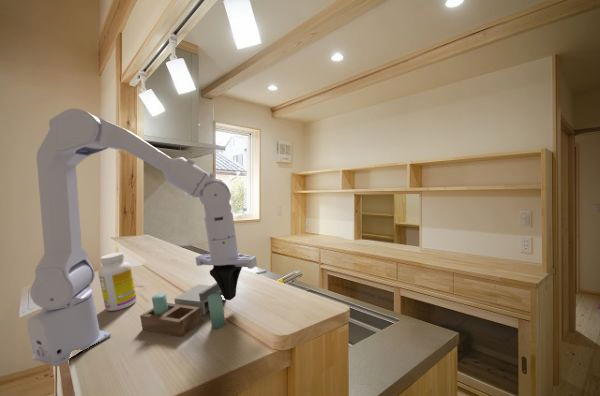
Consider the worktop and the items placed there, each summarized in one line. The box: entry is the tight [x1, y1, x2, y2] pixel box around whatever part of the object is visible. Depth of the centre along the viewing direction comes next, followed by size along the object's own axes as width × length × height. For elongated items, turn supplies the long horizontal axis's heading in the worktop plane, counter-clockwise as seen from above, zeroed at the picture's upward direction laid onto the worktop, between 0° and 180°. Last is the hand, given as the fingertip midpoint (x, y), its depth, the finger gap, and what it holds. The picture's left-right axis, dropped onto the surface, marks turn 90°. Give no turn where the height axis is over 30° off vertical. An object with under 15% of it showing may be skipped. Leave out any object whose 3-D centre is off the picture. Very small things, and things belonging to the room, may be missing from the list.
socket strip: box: [139, 302, 203, 338], centre depth 58 cm, size 6×11×3 cm, turn 66°
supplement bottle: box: [98, 251, 137, 312], centre depth 70 cm, size 7×7×13 cm
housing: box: [173, 282, 223, 316], centre depth 65 cm, size 7×8×5 cm
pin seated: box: [151, 292, 169, 316], centre depth 59 cm, size 3×3×6 cm
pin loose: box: [207, 293, 226, 329], centre depth 56 cm, size 3×3×6 cm
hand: (230, 297), depth 62 cm, fingers closed
